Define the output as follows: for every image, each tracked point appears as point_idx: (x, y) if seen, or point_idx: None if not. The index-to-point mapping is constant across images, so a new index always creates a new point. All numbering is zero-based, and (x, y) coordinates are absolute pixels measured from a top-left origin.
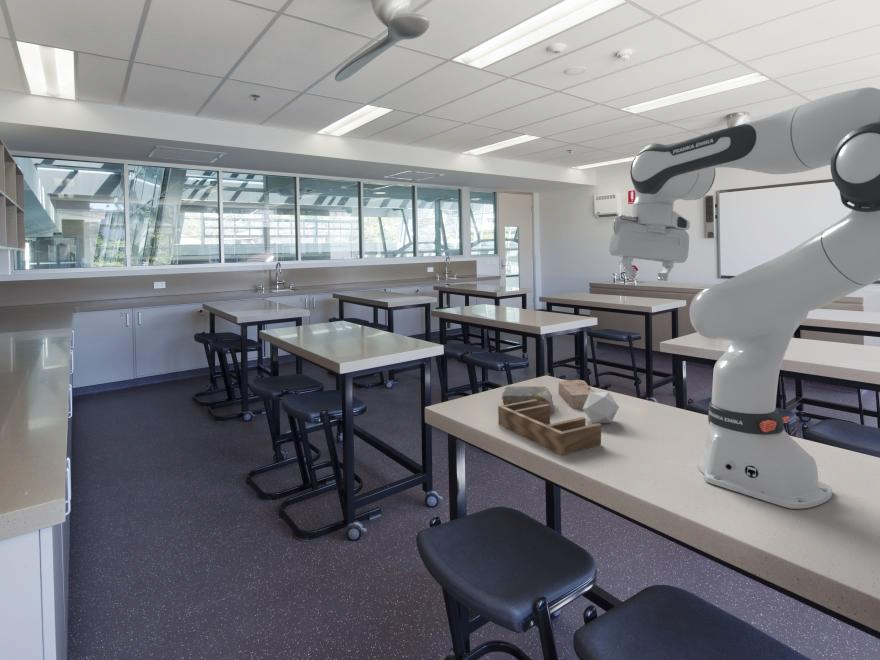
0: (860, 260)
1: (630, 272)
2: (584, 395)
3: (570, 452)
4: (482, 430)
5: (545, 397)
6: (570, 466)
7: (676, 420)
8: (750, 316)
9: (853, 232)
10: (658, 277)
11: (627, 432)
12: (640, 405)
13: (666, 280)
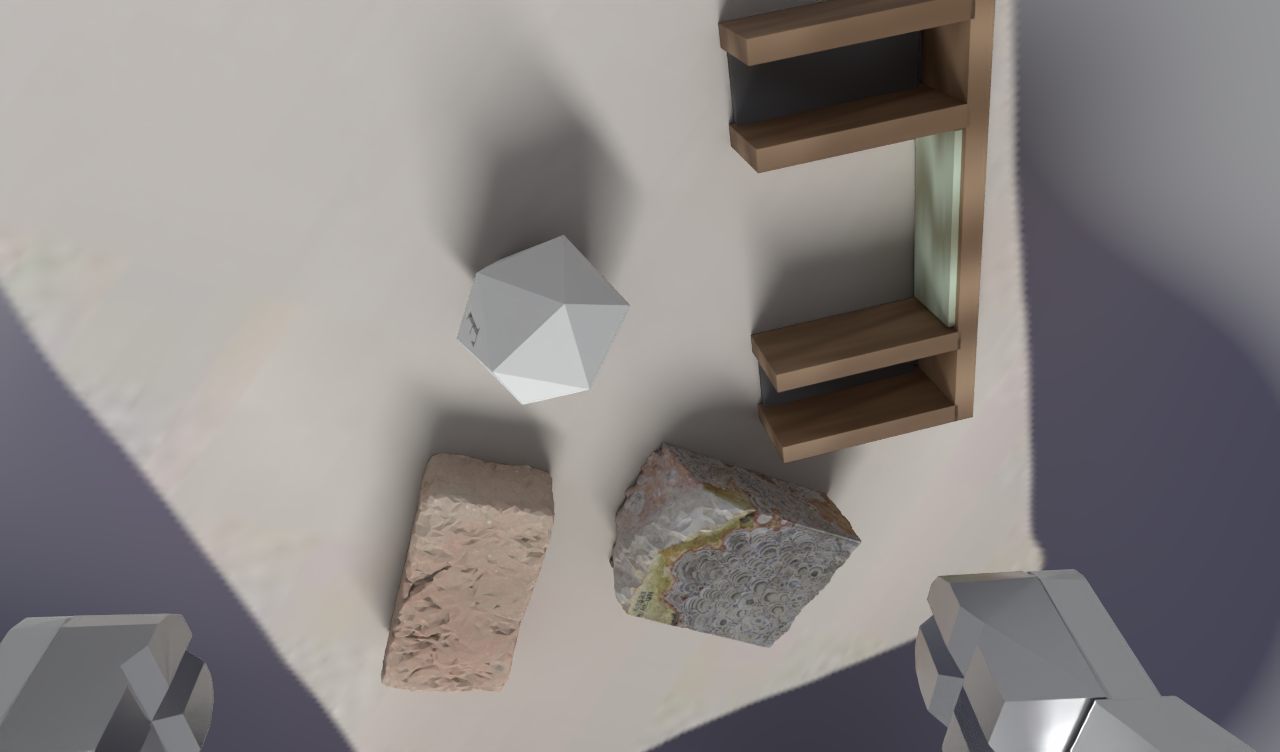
0: None
1: (1115, 630)
2: (500, 503)
3: None
4: (1022, 333)
5: (705, 495)
6: None
7: (146, 192)
8: None
9: None
10: (187, 749)
11: (503, 123)
12: (210, 435)
13: (55, 618)
